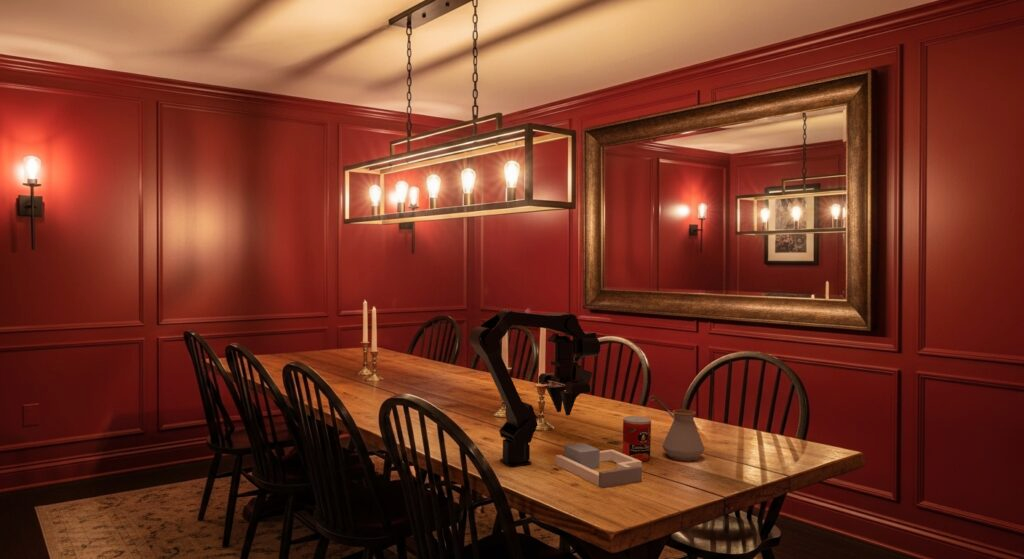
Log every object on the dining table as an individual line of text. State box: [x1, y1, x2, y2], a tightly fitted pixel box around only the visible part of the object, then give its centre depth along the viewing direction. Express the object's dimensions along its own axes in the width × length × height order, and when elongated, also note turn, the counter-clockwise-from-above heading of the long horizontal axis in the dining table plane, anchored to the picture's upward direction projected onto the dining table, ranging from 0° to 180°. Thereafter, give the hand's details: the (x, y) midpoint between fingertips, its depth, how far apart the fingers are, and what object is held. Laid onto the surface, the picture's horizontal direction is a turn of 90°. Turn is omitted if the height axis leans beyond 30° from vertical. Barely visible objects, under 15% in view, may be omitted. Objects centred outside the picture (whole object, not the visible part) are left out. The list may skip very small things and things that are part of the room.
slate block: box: [563, 442, 601, 470], centre depth 191 cm, size 6×8×5 cm
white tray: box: [555, 448, 643, 489], centre depth 186 cm, size 18×22×4 cm
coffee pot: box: [649, 394, 705, 462], centre depth 205 cm, size 21×12×15 cm, turn 24°
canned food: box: [622, 415, 652, 462], centre depth 199 cm, size 8×8×11 cm
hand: (563, 413), depth 199 cm, fingers open, 4 cm apart
